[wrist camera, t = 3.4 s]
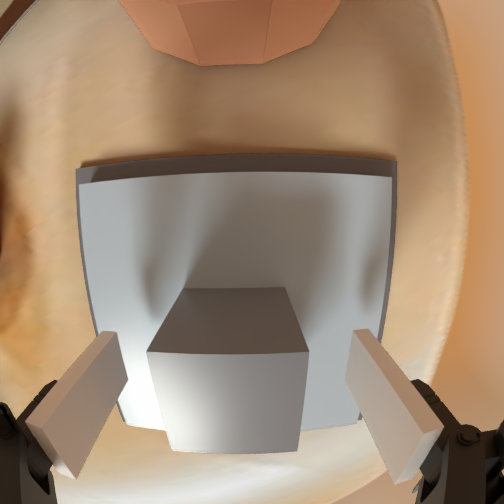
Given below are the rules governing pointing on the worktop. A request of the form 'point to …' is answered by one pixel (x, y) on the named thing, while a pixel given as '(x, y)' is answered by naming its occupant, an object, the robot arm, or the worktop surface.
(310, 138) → the worktop surface
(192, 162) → the tray
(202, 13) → the bowl
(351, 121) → the worktop surface
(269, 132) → the worktop surface
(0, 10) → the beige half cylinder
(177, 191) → the lid
